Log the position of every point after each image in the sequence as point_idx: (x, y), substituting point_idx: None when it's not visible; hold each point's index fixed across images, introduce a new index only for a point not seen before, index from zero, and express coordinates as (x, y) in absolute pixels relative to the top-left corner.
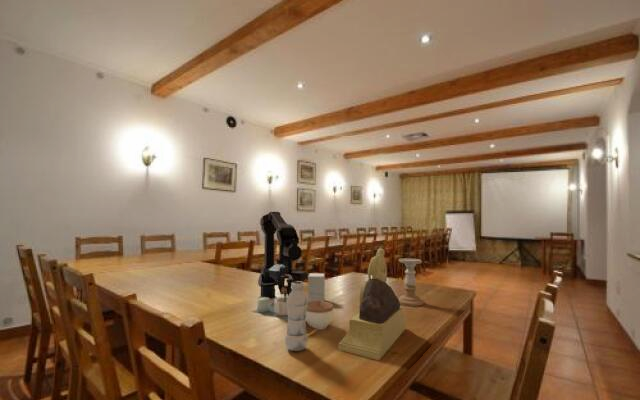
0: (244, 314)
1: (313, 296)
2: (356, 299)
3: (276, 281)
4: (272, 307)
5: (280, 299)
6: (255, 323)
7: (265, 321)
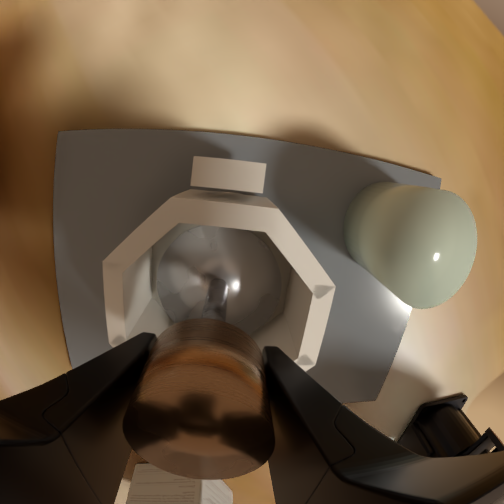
0: (452, 143)
1: (173, 489)
2: None
3: (416, 459)
4: (359, 321)
5: (296, 347)
6: (299, 15)
7: (261, 62)
